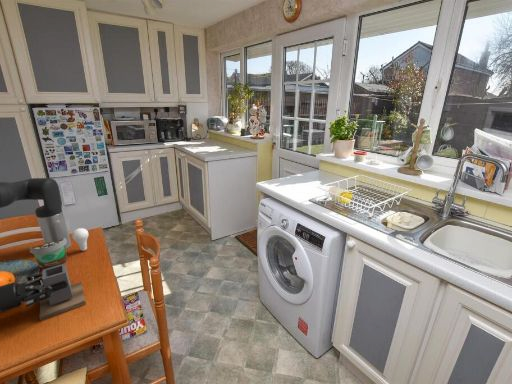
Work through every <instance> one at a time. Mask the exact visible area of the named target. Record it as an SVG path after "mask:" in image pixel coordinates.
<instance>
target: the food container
mask: <svg viewBox="0 0 512 384" xmlns="http://www.w3.org/2000/svg"><path fill="white" fill-rule="evenodd" d="M66 243H67V240H66V239H65V238H64V239H62V240H59V241H55V242H49V243H46V244H45V243H44V244H41V245H39V246H38V245H37V246H35V247H31V246H30V247H29V253H30V254H32V255H34V258H35V259H36V262H37V264H38V266H39V265H40V266H39V267H41V268H40V269H42V270H44V269H48V268H51V267H55V266H58V265H62V264H66V262H67V261H68V254H67V249H66V245H65V244H66Z"/></svg>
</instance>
